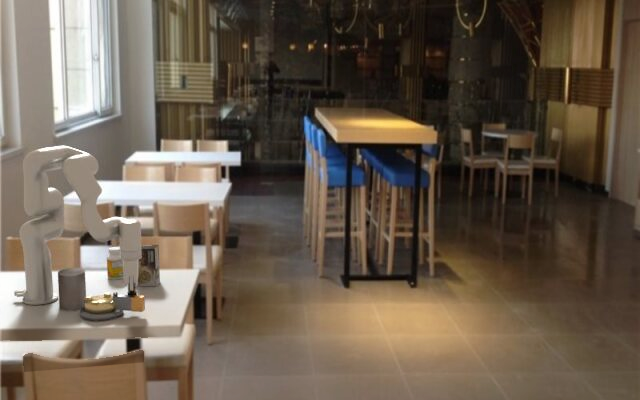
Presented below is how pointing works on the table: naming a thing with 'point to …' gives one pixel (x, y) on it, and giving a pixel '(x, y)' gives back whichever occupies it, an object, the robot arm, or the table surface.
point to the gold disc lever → (114, 303)
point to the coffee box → (149, 266)
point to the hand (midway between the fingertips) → (132, 302)
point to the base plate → (100, 315)
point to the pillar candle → (71, 288)
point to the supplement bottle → (114, 264)
